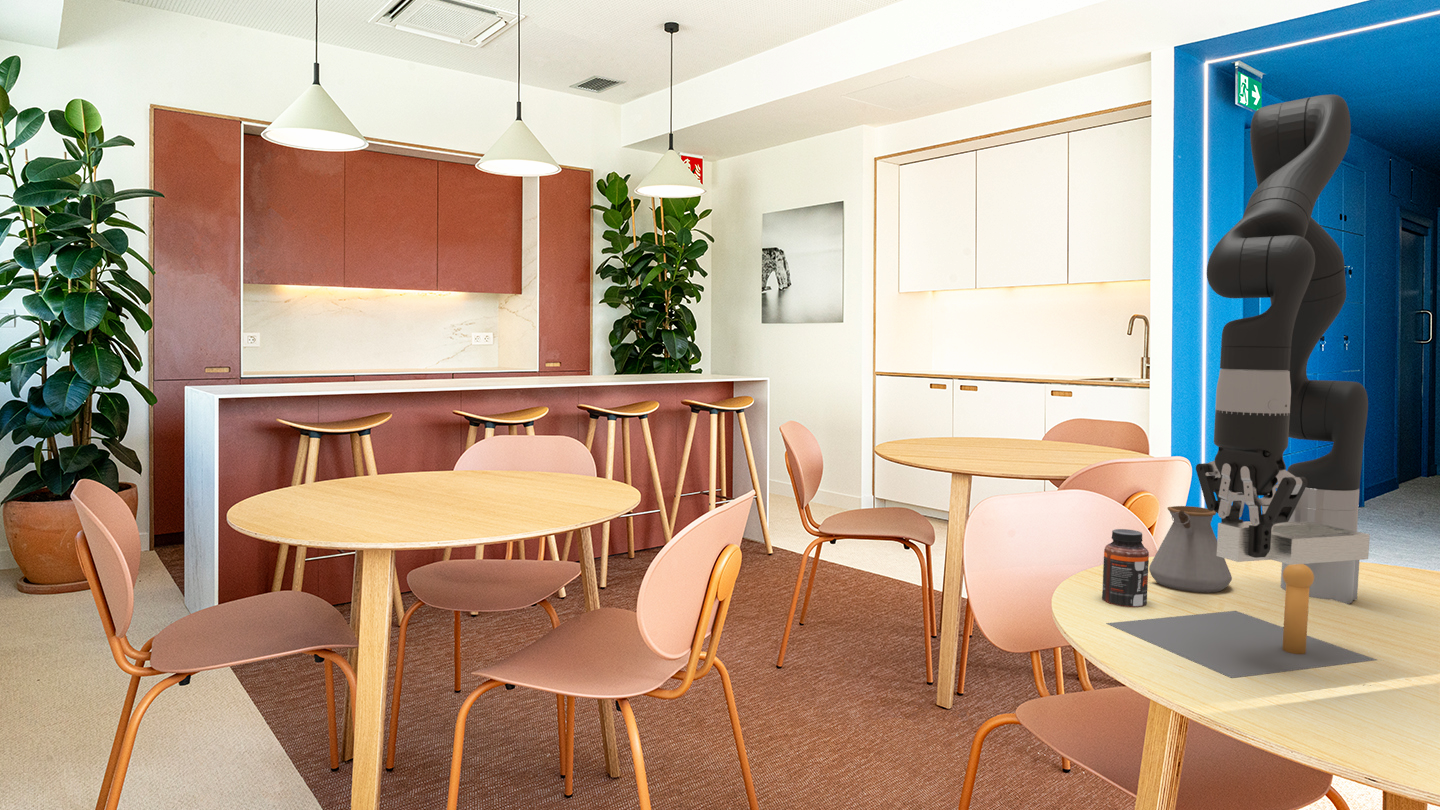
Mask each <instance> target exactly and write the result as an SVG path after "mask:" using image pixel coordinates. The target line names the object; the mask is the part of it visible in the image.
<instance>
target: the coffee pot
mask: <svg viewBox="0 0 1440 810" xmlns="http://www.w3.org/2000/svg"><path fill="white" fill-rule="evenodd" d="M1167 510H1168V511H1169V513H1170V515H1171V519H1172V523H1171V525H1170V526H1169V528H1168V529H1169V530H1167V533H1166V534H1165V537H1164V539H1163V540H1162V542H1161V544H1160V546H1159V547H1158V550H1157V551H1156V553H1155V554H1154V557H1153V559H1152V561H1151V562H1150V563H1149V566H1148V572H1149V573H1150V576H1151V577H1152V578H1153V580H1154V581H1155V582H1156V583H1157V584H1159V585H1161V586H1163V587H1167V588H1170V589H1174V590H1179V591H1183V592H1191V593H1203V594H1204V593H1219V592H1222V591H1223V590H1224V589H1226V588H1227V587H1228V586H1229V585H1230V584H1231V581H1232V580H1233V578H1232V576H1233V575H1232V574H1231V571H1230V569H1229V566H1228V563H1227V561H1226V559H1225V558H1222V557H1218V556H1217V537H1216V535H1215V532H1214V530H1213V527H1212V525H1211V523H1212V521H1213V517H1214V516H1216V515H1217V513H1216V512H1215V511H1210V510H1208V509H1207V507H1199V506H1192V505H1191V506H1189V505H1187V506H1186V505H1176V506H1175V505H1173V506H1168V507H1167Z"/></svg>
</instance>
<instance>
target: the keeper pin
mask: <svg viewBox="0 0 1440 810" xmlns="http://www.w3.org/2000/svg"><path fill="white" fill-rule="evenodd" d="M1283 579H1284V581H1285V583H1286V590H1285V596H1284V597H1285V598H1284V613H1283V614H1284V615H1283V617H1284V618H1283V627H1284V630H1283V647H1282V649H1283V650H1284V651H1286V652H1289V653H1293V654H1305V653H1306V640H1307V636H1308V635H1307V634H1308V619H1309V605H1310V604H1309V603H1310V597H1309V588H1310V586H1311V585H1312V583H1313V581H1314V574H1313V572H1312V570H1311V569H1310V568H1309V567H1308V566H1306V565H1304V564H1294V565H1288V566H1287V567H1286V568H1285V569H1284V571H1283Z"/></svg>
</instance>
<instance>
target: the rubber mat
mask: <svg viewBox="0 0 1440 810" xmlns="http://www.w3.org/2000/svg"><path fill="white" fill-rule="evenodd" d="M1105 624H1106V625H1107V626H1108V625H1109V626H1110V627H1113V628H1115V629H1117V630H1120V631H1122V632H1124V633H1126V634H1129V635H1131V636H1134V637H1135V638H1138V639H1140V640H1143V641H1145V642H1147V643H1149V644H1152V645H1154V646H1157V647H1159V648H1161V649H1163V650H1166V651H1168V652H1171V653H1172V654H1175V655H1177V656H1179V657H1182V658H1184V659H1187V660H1189V661H1191V662H1194V663H1196V664H1198V665H1200V666H1201V667H1205V668H1207V669H1209V670H1212V671H1214V672H1216V673H1218V674H1220V675H1223V676H1226V677H1228V678H1230V679H1237V678H1244V677H1245V678H1246V677H1253V676H1261V675H1269V674H1275V673H1285V672H1292V671H1301V670H1308V669H1316V668H1326V667H1332V666H1340V665H1348V664H1357V663H1364V662H1372V661H1373V662H1374V661H1378V659H1377V658H1374V657H1370V656H1367V655H1365V654H1362V653H1359V652H1356V651H1354V650H1350V649H1348V648H1344V647H1342V646H1339V645H1337V644H1333V643H1329V642H1327V641H1324V640H1322V639H1319V638H1315V637H1313V636H1310V635H1307V640H1306V653H1305V654H1293V653H1289V652H1286V651H1284V650H1283V649H1282V647H1283V630H1284V626H1281V625H1277V624H1275V623H1272V622H1269V621H1267V620H1264V619H1260V618H1259V617H1255V616H1252V615H1249V614H1246V613H1244V612H1240V611H1237V610H1229V611H1221V612H1220V611H1219V612H1209V613H1208V612H1207V613H1199V614H1187V615H1177V616H1169V617H1158V618H1156V617H1155V618H1146V619H1145V618H1144V619H1135V620H1127V621H1126V620H1125V621H1116V622H1106V623H1105Z"/></svg>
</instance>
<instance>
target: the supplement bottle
mask: <svg viewBox="0 0 1440 810" xmlns="http://www.w3.org/2000/svg"><path fill="white" fill-rule="evenodd" d="M1111 540H1112V541H1111V542H1110V543H1108V544H1106V545H1105V547H1104V551H1103V565H1102V566H1103V567H1102V568H1103V570H1102V592H1101V593H1102V594H1101V595H1102V596H1101V598H1102V601H1103V602H1105V603H1107V604H1110V605H1112V606H1113V605H1114V606H1118V607H1123V608H1124V607H1125V608H1142V607H1146V606H1147V604H1148V584H1149V583H1148V581H1149V566H1150V562H1149V558H1150V557H1149V556H1150V555H1149V554H1150V552H1149V550H1148V548H1146V547H1145V546H1144V544H1143V533H1142V531H1139V530H1135V529H1126V528H1117V529H1116V528H1115V529H1112V531H1111Z"/></svg>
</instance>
